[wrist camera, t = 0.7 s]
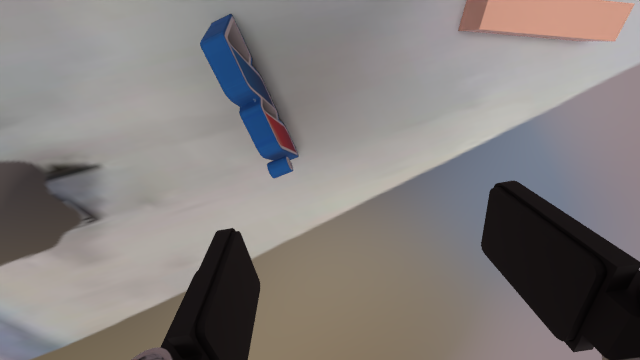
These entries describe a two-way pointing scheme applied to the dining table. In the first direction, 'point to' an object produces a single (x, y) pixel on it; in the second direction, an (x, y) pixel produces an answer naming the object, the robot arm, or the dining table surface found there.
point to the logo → (248, 93)
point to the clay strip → (547, 18)
